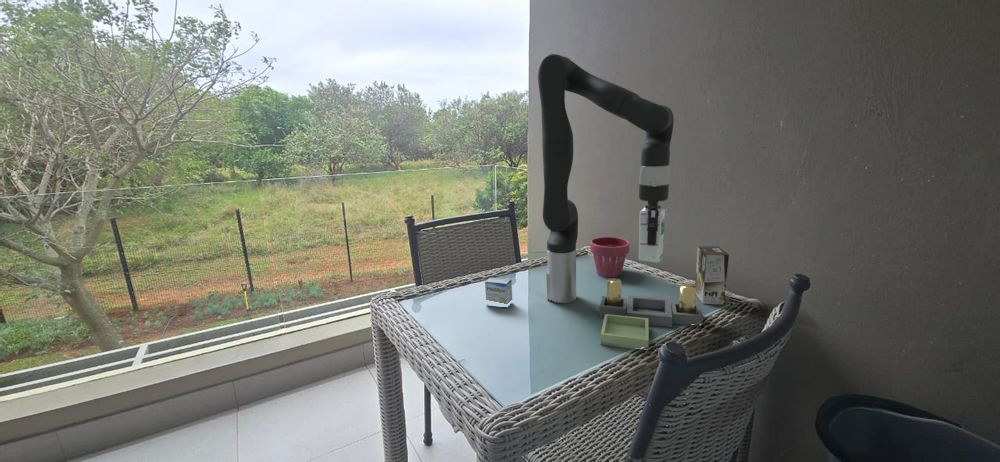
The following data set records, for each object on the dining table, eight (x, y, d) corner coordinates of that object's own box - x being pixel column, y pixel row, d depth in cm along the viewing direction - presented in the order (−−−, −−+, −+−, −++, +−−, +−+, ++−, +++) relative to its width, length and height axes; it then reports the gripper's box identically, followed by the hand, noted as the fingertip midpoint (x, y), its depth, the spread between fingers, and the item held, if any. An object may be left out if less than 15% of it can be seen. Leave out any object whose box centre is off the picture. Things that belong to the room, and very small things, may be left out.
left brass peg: (606, 313, 115) (606, 282, 113) (607, 307, 119) (607, 277, 116) (620, 315, 114) (620, 284, 111) (620, 309, 118) (621, 278, 115)
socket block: (598, 318, 112) (598, 309, 112) (603, 301, 123) (603, 293, 122) (703, 330, 103) (704, 320, 102) (697, 310, 113) (698, 301, 113)
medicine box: (486, 306, 125) (484, 281, 123) (491, 300, 129) (489, 276, 127) (508, 308, 122) (506, 283, 120) (513, 303, 126) (511, 278, 124)
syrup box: (659, 263, 105) (662, 211, 101) (637, 260, 108) (639, 210, 104) (663, 256, 109) (666, 207, 106) (641, 254, 112) (643, 206, 109)
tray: (600, 344, 99) (600, 334, 98) (604, 323, 110) (605, 313, 109) (648, 350, 95) (648, 340, 94) (648, 328, 106) (648, 318, 105)
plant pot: (635, 271, 147) (636, 239, 143) (618, 283, 137) (618, 249, 134) (601, 264, 156) (601, 234, 153) (583, 274, 147) (583, 243, 143)
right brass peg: (678, 321, 108) (680, 288, 106) (677, 314, 112) (679, 283, 109) (694, 322, 107) (696, 289, 104) (692, 316, 110) (695, 284, 108)
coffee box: (725, 304, 116) (730, 254, 112) (702, 304, 117) (706, 254, 113) (715, 292, 125) (719, 245, 121) (693, 292, 126) (697, 245, 122)
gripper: (639, 178, 111) (637, 234, 115) (638, 186, 98) (636, 248, 102) (667, 178, 108) (664, 235, 112) (670, 186, 95) (667, 249, 99)
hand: (651, 241), depth 107 cm, fingers closed on syrup box, 6 cm apart
